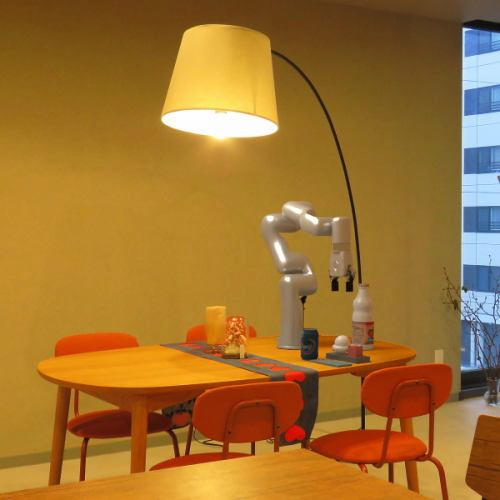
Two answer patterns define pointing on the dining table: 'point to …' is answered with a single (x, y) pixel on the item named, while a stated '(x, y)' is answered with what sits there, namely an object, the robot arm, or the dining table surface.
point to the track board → (330, 362)
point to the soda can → (309, 344)
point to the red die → (355, 350)
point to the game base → (347, 357)
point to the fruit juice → (363, 319)
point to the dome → (341, 344)
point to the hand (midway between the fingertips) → (342, 291)
